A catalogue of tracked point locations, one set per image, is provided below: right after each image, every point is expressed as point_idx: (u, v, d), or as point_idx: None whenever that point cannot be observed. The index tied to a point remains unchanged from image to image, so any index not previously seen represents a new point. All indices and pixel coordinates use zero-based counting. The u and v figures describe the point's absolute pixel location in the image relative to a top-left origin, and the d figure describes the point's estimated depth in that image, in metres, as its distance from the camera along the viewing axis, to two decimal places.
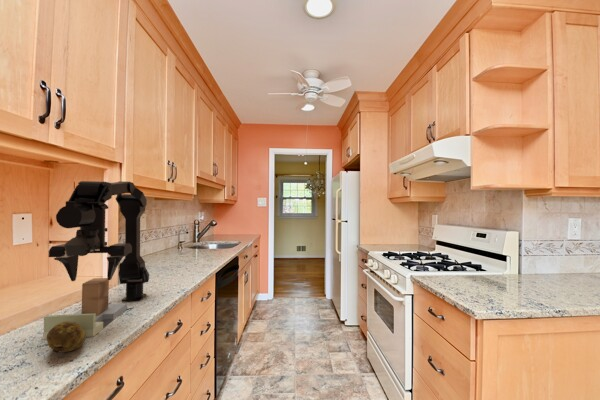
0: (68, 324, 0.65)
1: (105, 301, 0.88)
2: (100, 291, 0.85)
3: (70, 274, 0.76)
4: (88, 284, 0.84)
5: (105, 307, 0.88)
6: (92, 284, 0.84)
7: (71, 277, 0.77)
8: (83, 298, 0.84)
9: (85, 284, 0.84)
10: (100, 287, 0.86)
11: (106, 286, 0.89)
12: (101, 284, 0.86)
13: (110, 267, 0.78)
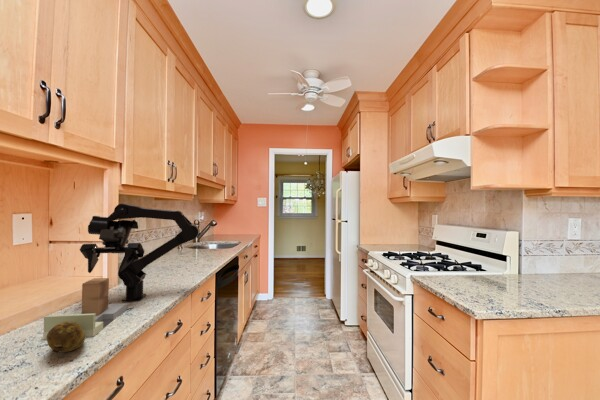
0: (68, 324, 0.65)
1: (105, 301, 0.88)
2: (100, 291, 0.85)
3: (89, 265, 0.92)
4: (88, 284, 0.84)
5: (105, 307, 0.88)
6: (92, 284, 0.84)
7: (89, 267, 0.91)
8: (83, 298, 0.84)
9: (85, 284, 0.84)
10: (100, 287, 0.86)
11: (106, 286, 0.89)
12: (101, 284, 0.86)
13: (124, 259, 0.95)
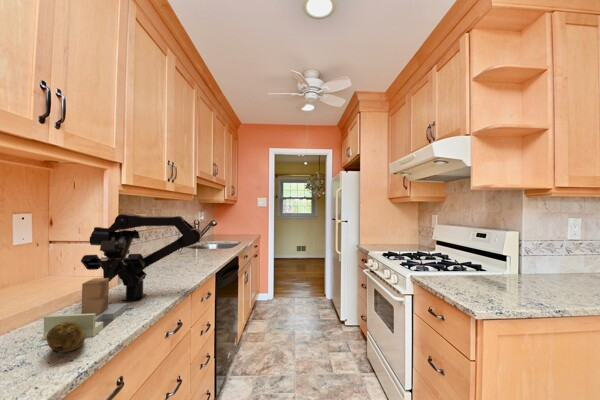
0: (68, 324, 0.65)
1: (105, 301, 0.88)
2: (100, 291, 0.85)
3: (104, 276, 0.93)
4: (88, 284, 0.84)
5: (105, 307, 0.88)
6: (92, 284, 0.84)
7: None
8: (83, 298, 0.84)
9: (85, 284, 0.84)
10: (100, 287, 0.86)
11: (106, 286, 0.89)
12: (101, 284, 0.86)
13: (111, 271, 0.94)
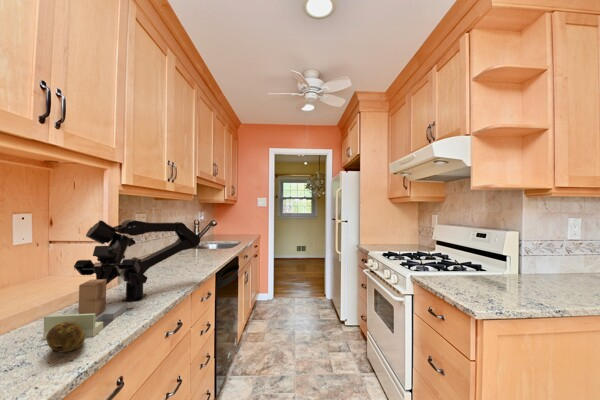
0: (68, 324, 0.65)
1: (102, 303, 0.87)
2: (97, 292, 0.84)
3: None
4: (85, 285, 0.83)
5: (102, 309, 0.87)
6: (89, 285, 0.83)
7: None
8: (80, 300, 0.82)
9: (82, 285, 0.82)
10: (98, 288, 0.84)
11: (104, 287, 0.88)
12: (98, 285, 0.84)
13: (104, 277, 0.91)
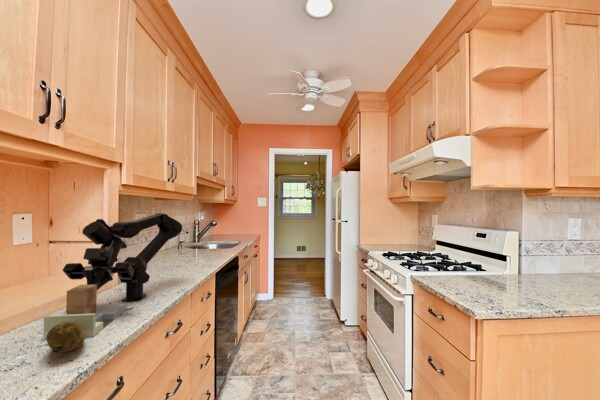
0: (68, 324, 0.65)
1: (92, 309, 0.81)
2: (86, 299, 0.78)
3: None
4: (73, 291, 0.77)
5: None
6: (78, 291, 0.77)
7: None
8: (68, 307, 0.77)
9: (70, 291, 0.77)
10: (87, 294, 0.79)
11: (94, 293, 0.82)
12: (87, 291, 0.79)
13: (95, 281, 0.85)
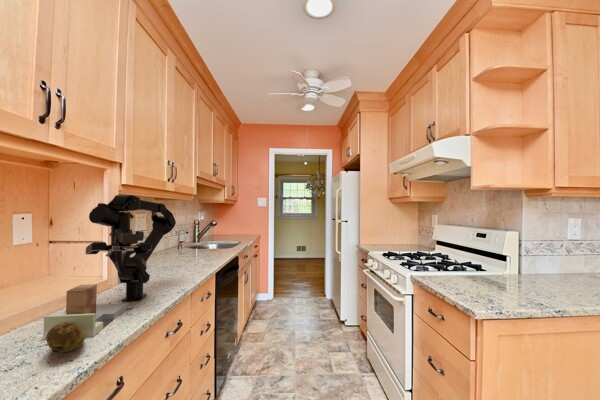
0: (67, 324, 0.65)
1: (92, 310, 0.81)
2: (86, 299, 0.78)
3: (120, 266, 0.93)
4: (73, 292, 0.77)
5: None
6: (77, 291, 0.77)
7: (120, 269, 0.93)
8: (67, 307, 0.77)
9: (70, 292, 0.77)
10: (87, 295, 0.79)
11: (94, 293, 0.82)
12: (87, 291, 0.79)
13: (125, 261, 0.94)
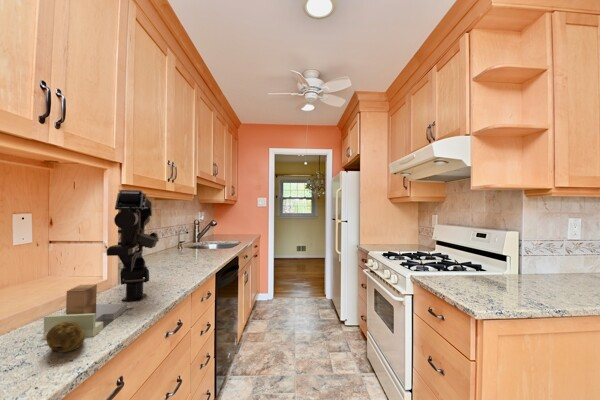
0: (67, 324, 0.65)
1: (92, 310, 0.81)
2: (86, 299, 0.78)
3: (131, 266, 0.94)
4: (73, 292, 0.77)
5: None
6: (77, 291, 0.77)
7: (131, 268, 0.94)
8: (67, 307, 0.77)
9: (70, 292, 0.77)
10: (87, 295, 0.79)
11: (94, 293, 0.82)
12: (87, 291, 0.79)
13: (134, 260, 0.96)
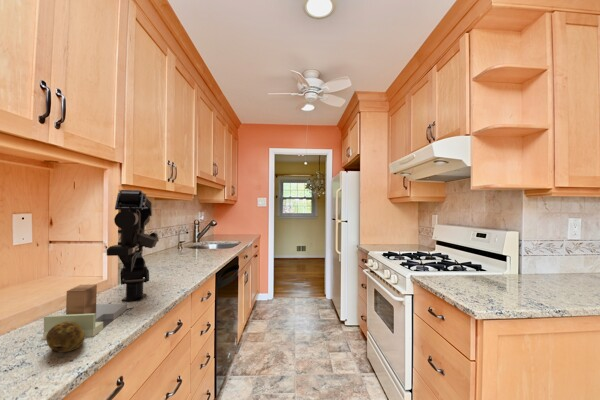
0: (67, 324, 0.65)
1: (92, 310, 0.81)
2: (86, 299, 0.78)
3: (131, 266, 0.94)
4: (73, 292, 0.77)
5: None
6: (77, 291, 0.77)
7: (131, 268, 0.94)
8: (67, 307, 0.77)
9: (70, 292, 0.77)
10: (87, 295, 0.79)
11: (94, 293, 0.82)
12: (87, 291, 0.79)
13: (134, 260, 0.96)
